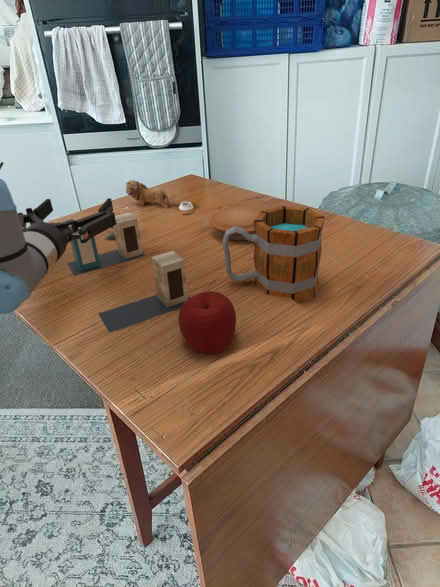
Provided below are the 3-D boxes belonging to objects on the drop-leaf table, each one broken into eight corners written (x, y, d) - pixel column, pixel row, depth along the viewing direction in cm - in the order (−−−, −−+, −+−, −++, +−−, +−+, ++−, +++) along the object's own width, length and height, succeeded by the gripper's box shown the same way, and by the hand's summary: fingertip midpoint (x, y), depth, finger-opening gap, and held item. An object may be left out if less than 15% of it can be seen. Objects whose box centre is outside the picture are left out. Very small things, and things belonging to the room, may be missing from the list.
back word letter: (118, 252, 102) (111, 216, 97) (135, 247, 104) (129, 212, 99) (124, 259, 99) (118, 223, 94) (143, 254, 101) (137, 218, 96)
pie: (278, 239, 107) (279, 221, 105) (218, 248, 105) (217, 230, 102) (258, 217, 120) (259, 199, 117) (205, 224, 117) (203, 207, 115)
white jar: (193, 216, 122) (196, 209, 126) (192, 206, 121) (196, 200, 125) (176, 216, 123) (180, 209, 127) (175, 206, 122) (179, 199, 126)
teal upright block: (75, 263, 98) (66, 227, 93) (95, 258, 100) (87, 222, 95) (80, 271, 95) (71, 234, 90) (100, 266, 97) (92, 229, 92)
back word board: (68, 268, 99) (66, 262, 99) (137, 249, 106) (136, 244, 105) (75, 281, 94) (74, 275, 93) (147, 261, 101) (146, 255, 100)
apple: (170, 354, 72) (164, 306, 67) (202, 324, 79) (198, 278, 74) (218, 373, 68) (215, 323, 62) (247, 340, 75) (246, 292, 69)
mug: (311, 268, 95) (316, 204, 86) (327, 302, 83) (334, 232, 75) (222, 274, 94) (219, 209, 86) (226, 309, 83) (223, 238, 75)
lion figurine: (126, 212, 127) (121, 183, 122) (132, 206, 131) (127, 177, 126) (174, 214, 124) (171, 184, 120) (178, 207, 129) (176, 177, 124)
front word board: (99, 319, 82) (97, 313, 81) (180, 293, 88) (179, 287, 88) (110, 339, 76) (108, 332, 76) (195, 309, 83) (194, 303, 82)
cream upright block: (157, 297, 85) (151, 257, 80) (177, 290, 87) (173, 250, 82) (167, 308, 81) (162, 267, 76) (188, 300, 83) (184, 259, 78)
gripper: (-22, 267, 78) (30, 220, 96) (110, 268, 76) (138, 220, 94) (-37, 230, 74) (20, 188, 92) (102, 230, 72) (133, 187, 90)
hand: (80, 204), depth 93 cm, fingers open, 13 cm apart
